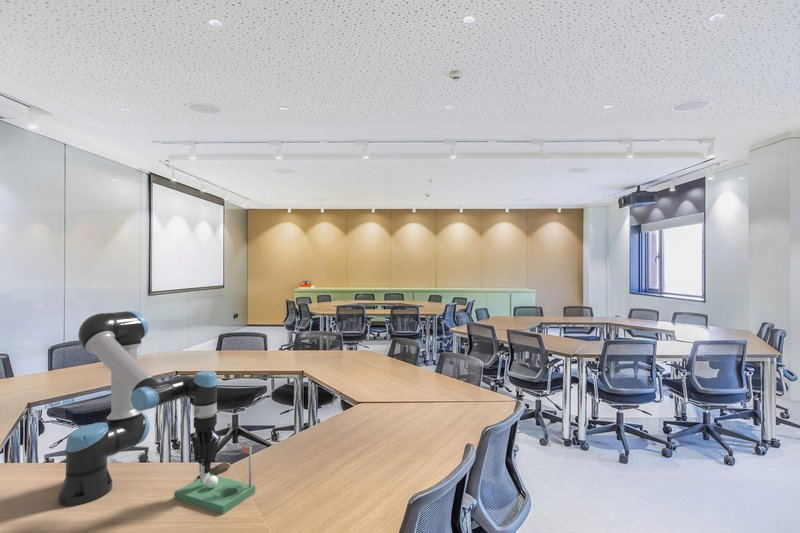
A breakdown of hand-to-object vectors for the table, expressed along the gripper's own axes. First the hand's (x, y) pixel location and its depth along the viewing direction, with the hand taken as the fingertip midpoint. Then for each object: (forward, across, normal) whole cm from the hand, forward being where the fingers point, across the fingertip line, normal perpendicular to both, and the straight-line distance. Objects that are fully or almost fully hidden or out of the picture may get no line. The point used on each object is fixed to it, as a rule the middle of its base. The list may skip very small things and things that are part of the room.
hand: (204, 481), depth 139 cm
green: (+4, +6, 0) cm, 7 cm away
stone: (+5, -10, +12) cm, 16 cm away
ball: (0, +4, 0) cm, 4 cm away
